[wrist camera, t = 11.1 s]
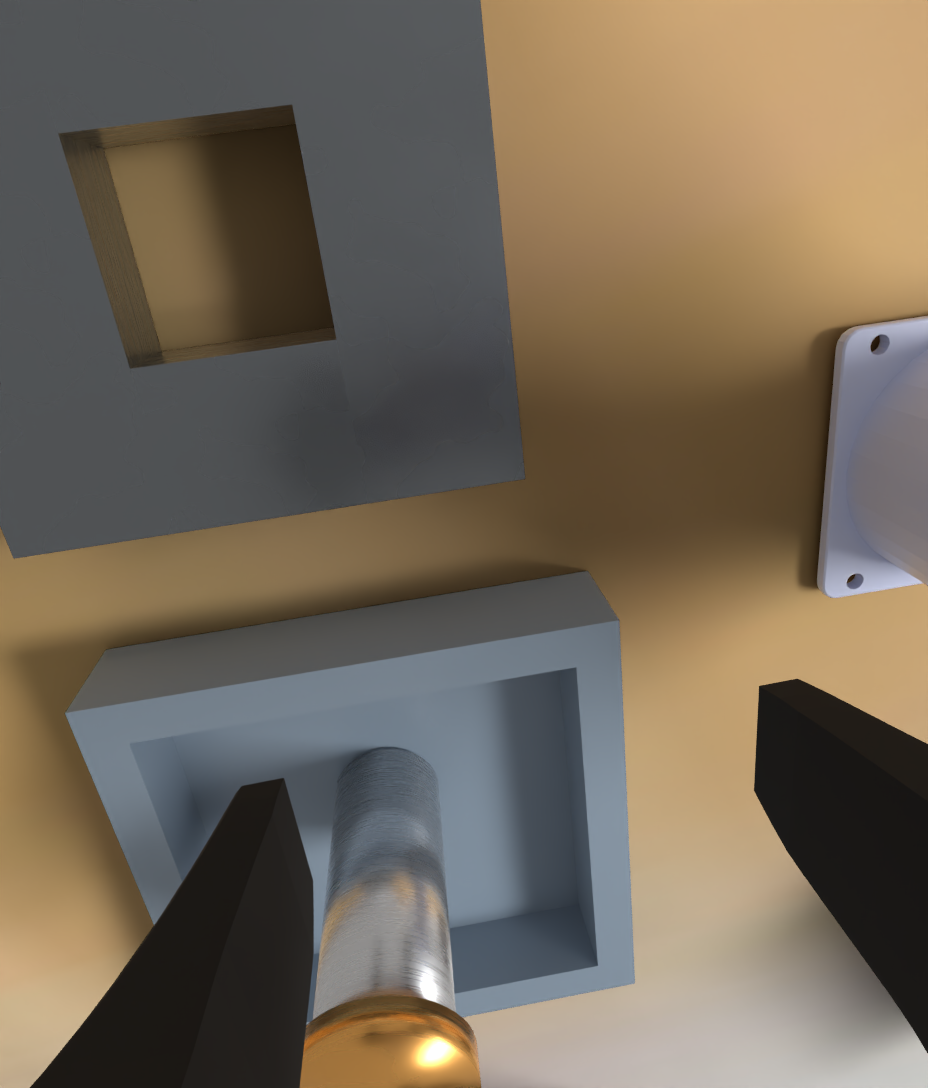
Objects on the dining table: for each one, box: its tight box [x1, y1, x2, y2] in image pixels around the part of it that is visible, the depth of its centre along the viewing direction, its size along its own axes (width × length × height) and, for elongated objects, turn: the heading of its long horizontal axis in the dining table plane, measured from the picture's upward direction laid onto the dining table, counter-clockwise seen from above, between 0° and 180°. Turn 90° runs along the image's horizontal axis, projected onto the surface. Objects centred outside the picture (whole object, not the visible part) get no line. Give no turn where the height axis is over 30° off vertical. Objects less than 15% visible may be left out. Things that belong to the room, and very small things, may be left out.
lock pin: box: [300, 748, 481, 1088], centre depth 19 cm, size 4×4×9 cm
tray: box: [65, 571, 635, 1025], centre depth 22 cm, size 14×14×3 cm
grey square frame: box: [0, 0, 525, 558], centre depth 16 cm, size 12×12×2 cm
